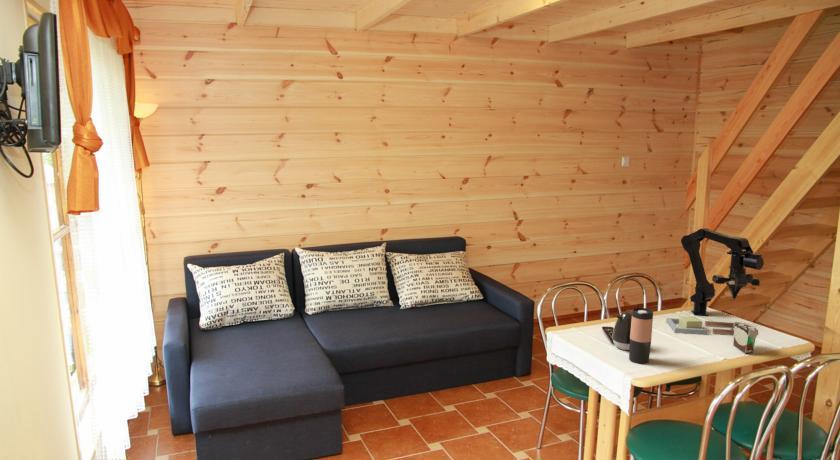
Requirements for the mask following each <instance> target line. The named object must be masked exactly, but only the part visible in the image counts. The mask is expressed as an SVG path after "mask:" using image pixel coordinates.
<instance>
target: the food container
mask: <svg viewBox="0 0 840 460" xmlns="http://www.w3.org/2000/svg"><path fill="white" fill-rule="evenodd" d="M733 323H734V328H733V330H734V335H733V340H732V341H733V343H732V347H734V348H736V349H737V350H738V351H740V352H741V353H743V354H744V355H751V354H753V353H754V348H755V343H756V338H757V336H759V329H758V328H757V326H755V325H753V324H750V323H746V322H742V321H734V322H733Z"/></svg>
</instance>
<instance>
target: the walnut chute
mask: <svg viewBox="0 0 840 460" xmlns="http://www.w3.org/2000/svg"><path fill="white" fill-rule="evenodd" d="M704 326H705V327H708V328H709V327H713V328H712V334H713V335H724V336H734V322H727V321H726V322H725V321H711V320H710V321H709V320H706V321H705V320H704ZM724 328H725V329H724Z"/></svg>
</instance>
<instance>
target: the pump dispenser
mask: <svg viewBox="0 0 840 460" xmlns="http://www.w3.org/2000/svg"><path fill="white" fill-rule="evenodd" d="M615 317H616V318H617V319H616V321H615V324H614V327H613V330H612V335H611V339H612V341H613V344H614V346H615V347H617V348H618V349H620V350H623V351H629V348H630V332H631V320H632V312H629V311H623V312H622V313H621V314H620V315H619V314H616V316H615Z"/></svg>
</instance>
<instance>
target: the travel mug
mask: <svg viewBox="0 0 840 460" xmlns="http://www.w3.org/2000/svg"><path fill="white" fill-rule="evenodd" d="M631 313H632V320H631V332H630V348H629V350H628V351H629V353H628V358H629V359H628V360H629V361H630V362H631V363H634V364H637V365H646V364H648V363H649V361H650V355H651V345H652V337H653V335H652V334H653V322H654V320H653V319H654V311H653V310H652V309H649V308H647V307H634V308H632V310H631Z"/></svg>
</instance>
